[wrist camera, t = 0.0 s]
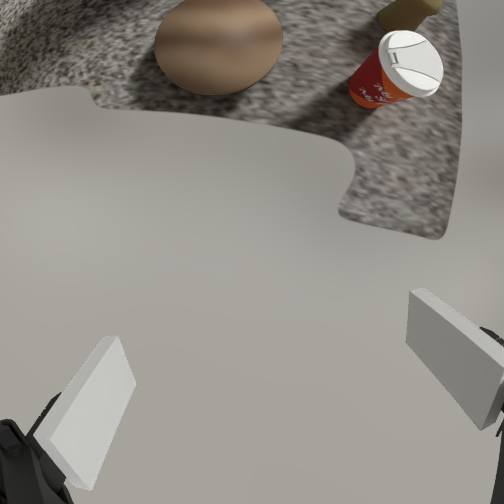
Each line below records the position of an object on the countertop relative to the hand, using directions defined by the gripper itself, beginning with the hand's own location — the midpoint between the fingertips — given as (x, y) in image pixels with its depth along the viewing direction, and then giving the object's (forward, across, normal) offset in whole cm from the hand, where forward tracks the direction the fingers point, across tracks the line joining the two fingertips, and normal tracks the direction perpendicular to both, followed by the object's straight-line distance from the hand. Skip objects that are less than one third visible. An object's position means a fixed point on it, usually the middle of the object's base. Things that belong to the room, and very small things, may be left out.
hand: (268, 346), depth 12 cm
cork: (+28, +27, +29) cm, 49 cm away
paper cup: (+28, +19, +17) cm, 38 cm away
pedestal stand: (+28, 0, +24) cm, 37 cm away
